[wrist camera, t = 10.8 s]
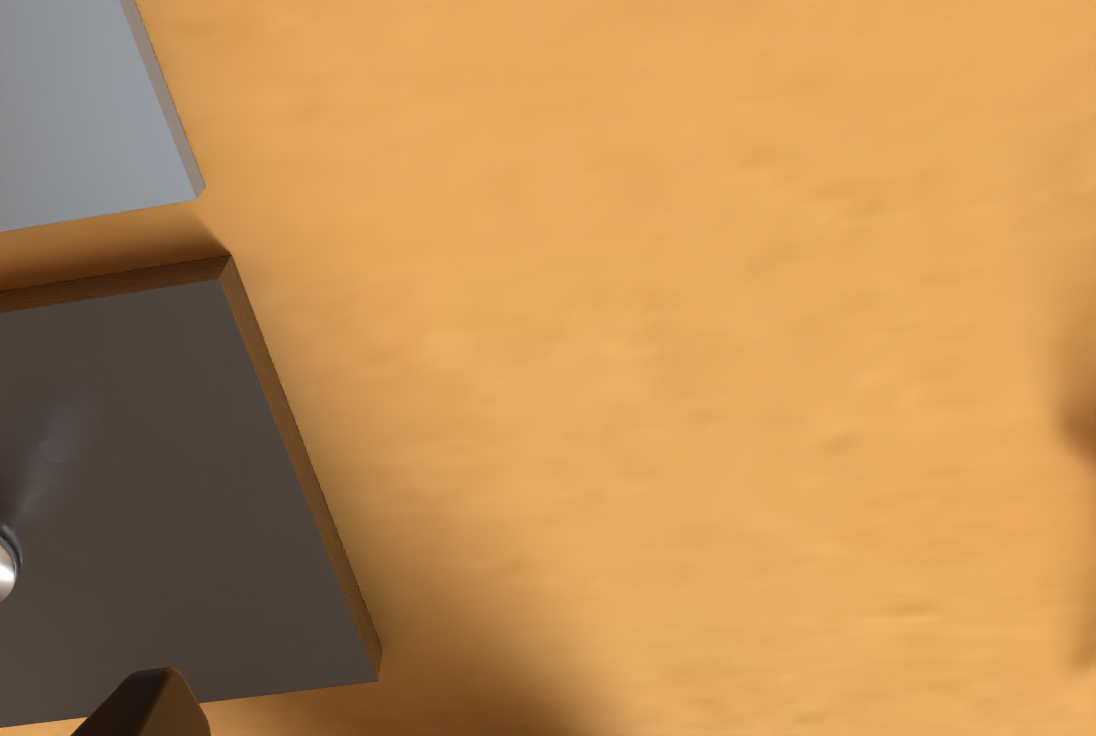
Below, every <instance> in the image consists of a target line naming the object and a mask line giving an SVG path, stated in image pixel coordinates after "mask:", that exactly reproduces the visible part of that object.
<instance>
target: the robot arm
mask: <svg viewBox="0 0 1096 736" xmlns="http://www.w3.org/2000/svg"><path fill="white" fill-rule="evenodd" d="M71 736H211V733H210V727H209V723H208V720H207V718H206V716H205V714H204V712H203V710H202V709H201V707H200V705H199V703H198V701H197V700H196V698H195V696H194V694H193V692H192V691H191V689H190V687H189V685H188V683H187V682H186V680H185V678H184V676H183V675H182V673H181V672H180V671H178V670H177V669H175V668H172V667H165V668H157V669H149V670H141V671H137V672H134V673H132V674H130V675H129V676H128V677H126V678H125V679H124V680H123V681H122V682H121V683H120V684H119V685H118V686H117V687H116V688H115V689H114V690H113V692H112V693H111V694H110V695H109V696H108V697H107V698H106V699H105V700H104V701H103V702H102V703H101V704H100V705H99V706H98V707H97V708H96V709H95V710H94V711H93V713H92V714H91V715H90V716H89V717H88V718H87V719H86V720H85V721H84V722H83V723H82V724H81V725H80V726H79V727H78V728H77V729H76V730H75V731H74V733H73V734H72V735H71Z"/></svg>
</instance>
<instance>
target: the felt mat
mask: <svg viewBox="0 0 1096 736" xmlns="http://www.w3.org/2000/svg"><path fill="white" fill-rule="evenodd" d="M204 188H205V184H204V182H203V179H202V177H201V174H200V171H199V169H198V166H197V164H196V161H195V158H194V156H193V153H192V150H191V148H190V145H189V143H188V140H187V137H186V135H185V132H184V129H183V127H182V124H181V122H180V119H179V116H178V114H177V111H176V109H175V106H174V103H173V101H172V98H171V95H170V93H169V90H168V88H167V85H166V82H165V80H164V77H163V74H162V72H161V69H160V67H159V64H158V61H157V59H156V56H155V54H154V51H153V48H152V46H151V43H150V40H149V38H148V35H147V33H146V30H145V27H144V25H143V22H142V19H141V17H140V14H139V12H138V9H137V6H136V4H135V1H134V0H0V232H3V231H10V230H16V229H22V228H28V227H34V226H40V225H46V224H52V223H58V222H64V221H70V220H76V219H82V218H89V217H95V216H101V215H107V214H113V213H119V212H125V211H131V210H137V209H143V208H149V207H155V206H162V205H168V204H174V203H180V202H186V201H192V200H197V199H198V197H199V196H200V194H201V193H202V191H203V190H204Z"/></svg>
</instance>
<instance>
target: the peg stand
mask: <svg viewBox="0 0 1096 736" xmlns="http://www.w3.org/2000/svg"><path fill="white" fill-rule="evenodd" d="M381 657H382V648H381V645H380V643H379V640H378V638H377V635H376V632H375V630H374V627H373V625H372V622H371V619H370V617H369V614H368V611H367V609H366V606H365V604H364V601H363V598H362V596H361V593H360V590H359V588H358V585H357V583H356V580H355V577H354V575H353V572H352V570H351V567H350V564H349V562H348V559H347V556H346V554H345V551H344V549H343V546H342V543H341V541H340V538H339V535H338V533H337V530H336V528H335V525H334V522H333V520H332V517H331V515H330V512H329V509H328V507H327V504H326V501H325V499H324V496H323V494H322V491H321V488H320V486H319V483H318V480H317V478H316V475H315V473H314V470H313V467H312V465H311V462H310V460H309V457H308V454H307V452H306V449H305V446H304V444H303V441H302V439H301V436H300V433H299V431H298V428H297V425H296V423H295V420H294V418H293V415H292V412H291V410H290V407H289V405H288V402H287V399H286V397H285V394H284V391H283V389H282V386H281V384H280V381H279V378H278V376H277V373H276V370H275V368H274V365H273V363H272V360H271V357H270V355H269V352H268V350H267V347H266V344H265V342H264V339H263V336H262V334H261V331H260V329H259V326H258V323H257V321H256V318H255V315H254V313H253V310H252V308H251V305H250V302H249V300H248V297H247V294H246V292H245V289H244V287H243V284H242V281H241V279H240V276H239V274H238V271H237V268H236V266H235V263H234V260H233V258H232V255H229V256H222V257H216V258H210V259H204V260H197V261H191V262H185V263H179V264H172V265H166V266H160V267H154V268H147V269H141V270H135V271H128V272H122V273H116V274H110V275H103V276H97V277H91V278H85V279H78V280H72V281H66V282H60V283H53V284H47V285H41V286H34V287H28V288H22V289H16V290H9V291H3V292H0V728H2V727H11V726H19V725H27V724H35V723H43V722H51V721H59V720H67V719H75V718H83V717H89V716H90V715H91V714H92V713H93V711H94V710H95V709H96V708H97V707H98V706H99V705H100V704H101V703H102V702H103V701H104V700H105V699H106V698H107V697H108V696H109V695H110V694H111V693H112V692H113V690H114V689H115V688H116V687H117V686H118V685H119V684H120V683H121V682H122V681H123V680H124V679H125V678H126V677H128V676H129V675H130V674H132V673H134V672H137V671H141V670H149V669H157V668H165V667H172V668H175V669H177V670H178V671H180V672H181V673H182V675H183V676H184V678H185V680H186V682H187V683H188V685H189V687H190V689H191V691H192V692H193V694H194V696H195V698H196V700H197V701H198V703H205V702H213V701H221V700H229V699H237V698H245V697H253V696H262V695H270V694H278V693H286V692H294V691H302V690H310V689H318V688H326V687H334V686H343V685H351V684H359V683H367V682H375V681H378V677H379V670H380V664H381Z"/></svg>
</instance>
